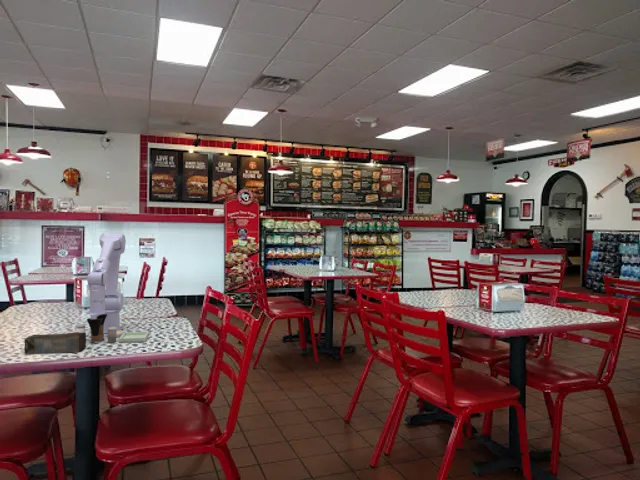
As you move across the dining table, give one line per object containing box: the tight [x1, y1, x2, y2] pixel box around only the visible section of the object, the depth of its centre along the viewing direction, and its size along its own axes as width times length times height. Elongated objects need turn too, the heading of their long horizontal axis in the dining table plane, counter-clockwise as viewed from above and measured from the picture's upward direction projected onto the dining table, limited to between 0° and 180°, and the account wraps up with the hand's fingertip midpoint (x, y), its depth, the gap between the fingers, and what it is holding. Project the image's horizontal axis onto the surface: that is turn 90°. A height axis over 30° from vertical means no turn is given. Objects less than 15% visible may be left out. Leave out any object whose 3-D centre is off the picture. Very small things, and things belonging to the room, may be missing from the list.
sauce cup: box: [116, 329, 124, 339], centre depth 200 cm, size 4×4×3 cm
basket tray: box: [118, 331, 150, 344], centre depth 195 cm, size 12×10×2 cm
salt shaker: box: [75, 323, 86, 333], centre depth 194 cm, size 3×3×6 cm
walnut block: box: [90, 325, 105, 343], centre depth 193 cm, size 4×4×6 cm
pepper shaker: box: [107, 327, 117, 344], centre depth 189 cm, size 3×3×6 cm
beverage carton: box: [23, 331, 87, 355], centre depth 175 cm, size 8×19×7 cm, turn 101°
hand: (97, 333), depth 193 cm, fingers open, 7 cm apart
